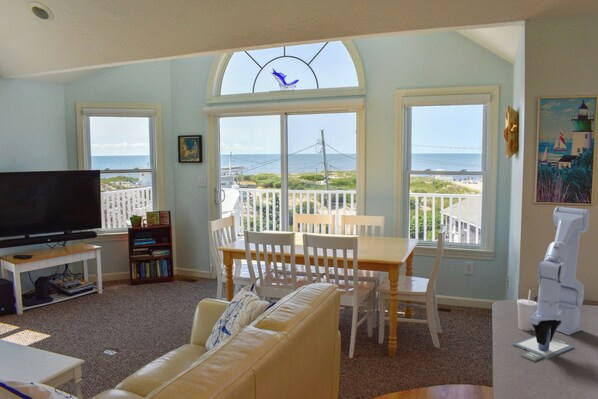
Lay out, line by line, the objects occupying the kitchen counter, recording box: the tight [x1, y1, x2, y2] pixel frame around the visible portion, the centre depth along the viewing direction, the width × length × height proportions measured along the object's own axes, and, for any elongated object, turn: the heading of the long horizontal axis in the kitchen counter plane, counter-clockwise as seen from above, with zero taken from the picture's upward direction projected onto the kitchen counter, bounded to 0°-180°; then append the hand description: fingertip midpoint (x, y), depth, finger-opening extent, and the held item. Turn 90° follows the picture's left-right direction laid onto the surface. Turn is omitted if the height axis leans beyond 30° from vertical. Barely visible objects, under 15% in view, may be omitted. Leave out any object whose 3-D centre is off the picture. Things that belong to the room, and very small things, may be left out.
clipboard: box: [512, 335, 575, 360], centre depth 145 cm, size 16×11×1 cm
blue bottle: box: [538, 328, 551, 351], centre depth 141 cm, size 3×3×7 cm
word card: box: [520, 351, 544, 362], centre depth 137 cm, size 5×4×1 cm
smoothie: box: [516, 289, 537, 332], centre depth 159 cm, size 6×6×14 cm
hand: (543, 342), depth 141 cm, fingers closed on blue bottle, 3 cm apart
